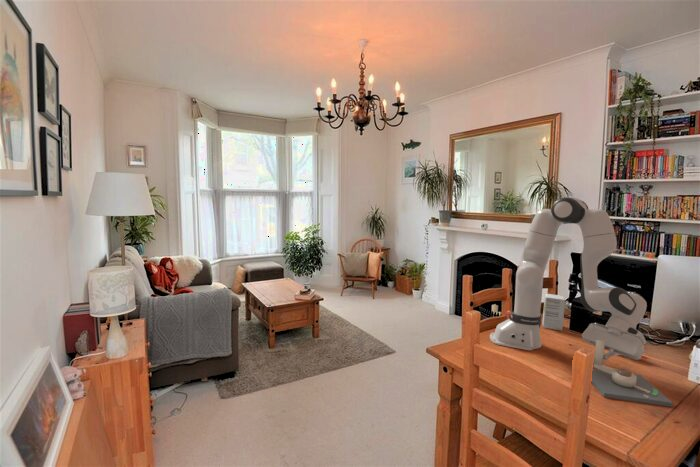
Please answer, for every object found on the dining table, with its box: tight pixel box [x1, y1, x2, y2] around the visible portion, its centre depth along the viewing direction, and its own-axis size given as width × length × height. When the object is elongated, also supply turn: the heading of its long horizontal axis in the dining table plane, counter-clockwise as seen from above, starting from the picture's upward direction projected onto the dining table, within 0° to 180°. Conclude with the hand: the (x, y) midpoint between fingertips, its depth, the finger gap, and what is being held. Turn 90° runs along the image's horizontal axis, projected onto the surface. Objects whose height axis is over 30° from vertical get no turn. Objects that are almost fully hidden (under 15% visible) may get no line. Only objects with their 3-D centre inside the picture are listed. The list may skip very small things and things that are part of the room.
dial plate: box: [591, 368, 674, 408], centre depth 131 cm, size 20×20×2 cm
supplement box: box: [541, 293, 566, 331], centre depth 194 cm, size 10×9×17 cm
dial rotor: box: [593, 340, 650, 393], centre depth 131 cm, size 18×7×12 cm, turn 26°
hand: (602, 357), depth 139 cm, fingers closed, pressing on dial rotor
